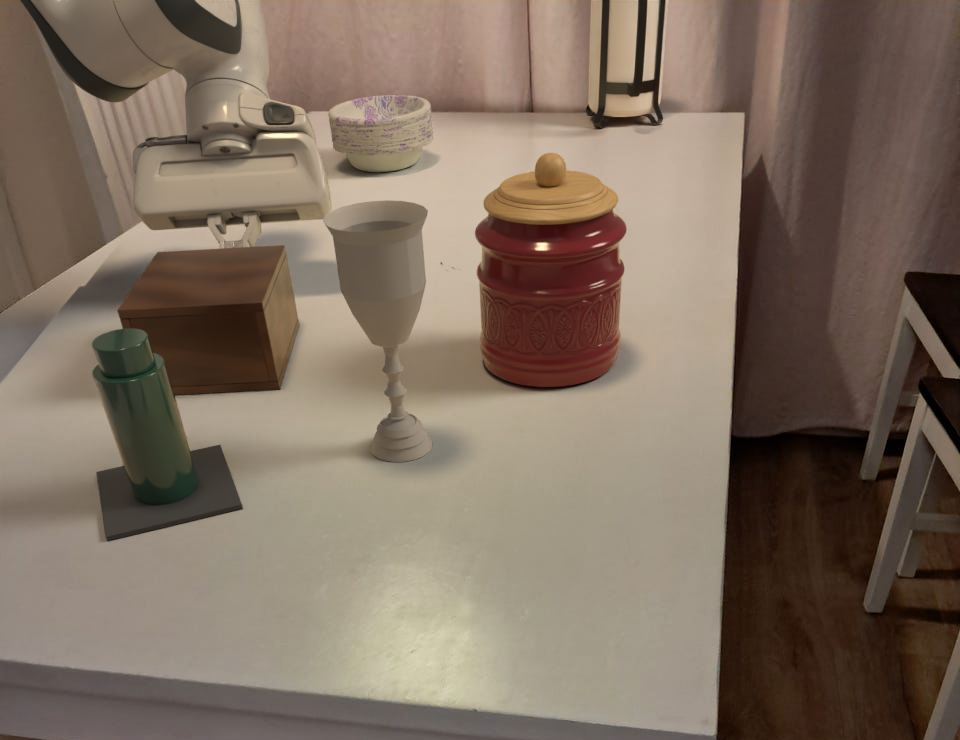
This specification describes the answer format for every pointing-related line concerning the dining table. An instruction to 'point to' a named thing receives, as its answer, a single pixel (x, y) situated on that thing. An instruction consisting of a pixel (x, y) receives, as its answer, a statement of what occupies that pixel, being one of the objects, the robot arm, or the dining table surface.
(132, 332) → the bottle
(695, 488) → the dining table surface
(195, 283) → the brown wooden box
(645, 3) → the lantern
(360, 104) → the paper bowls
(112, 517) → the mat
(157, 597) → the dining table surface
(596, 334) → the kitchen canister
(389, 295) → the chalice
